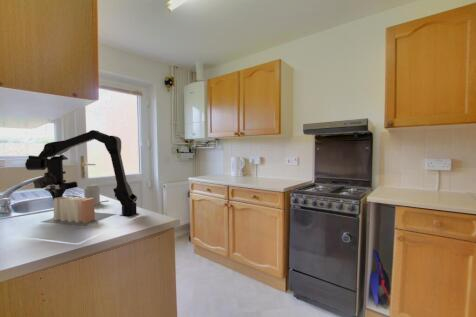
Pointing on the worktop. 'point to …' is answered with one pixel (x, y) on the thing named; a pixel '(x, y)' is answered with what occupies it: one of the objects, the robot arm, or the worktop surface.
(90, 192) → the can
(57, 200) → the domino
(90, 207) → the terracotta domino
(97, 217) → the mat
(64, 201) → the cream flat block
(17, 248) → the worktop surface
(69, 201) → the domino
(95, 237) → the worktop surface
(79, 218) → the domino
